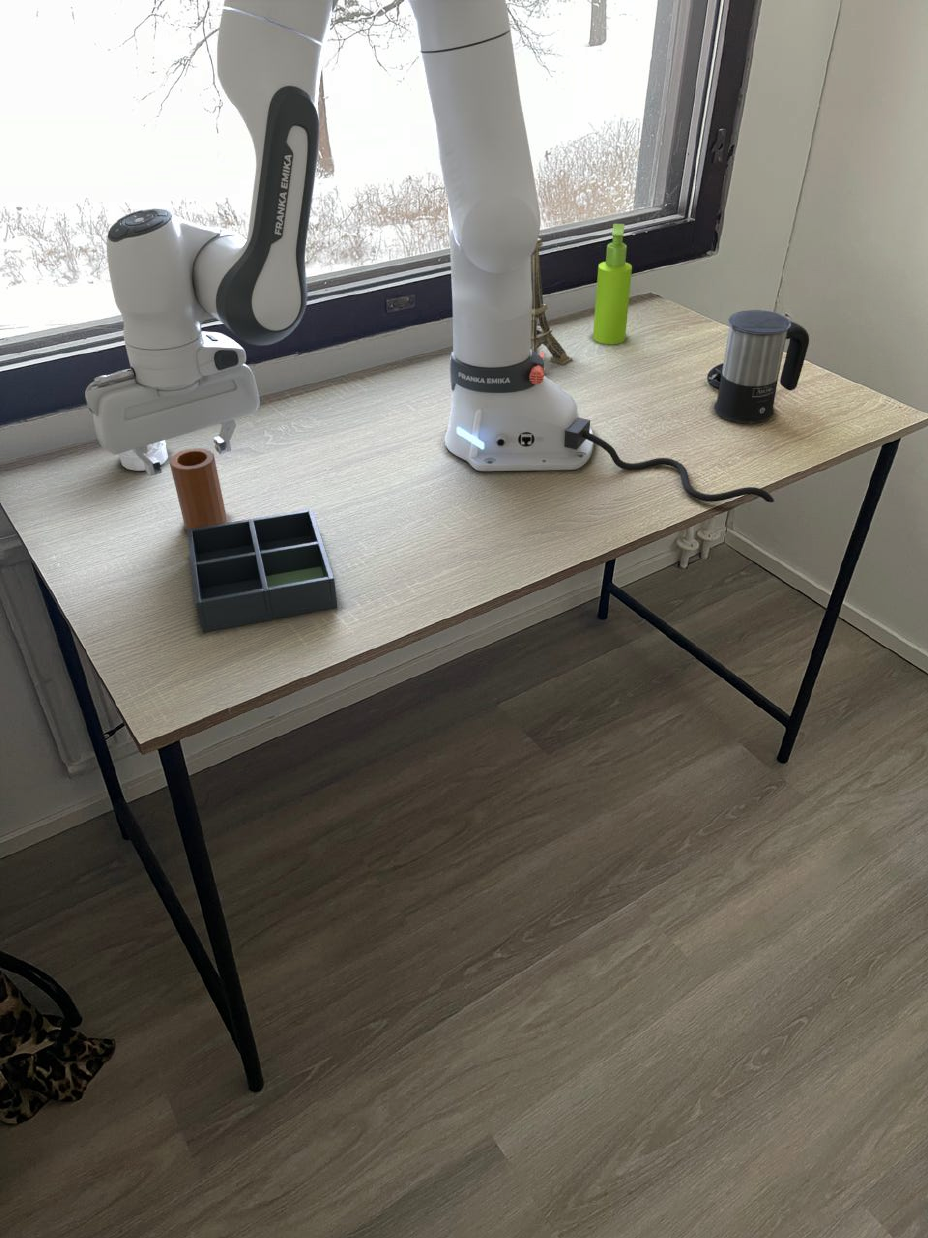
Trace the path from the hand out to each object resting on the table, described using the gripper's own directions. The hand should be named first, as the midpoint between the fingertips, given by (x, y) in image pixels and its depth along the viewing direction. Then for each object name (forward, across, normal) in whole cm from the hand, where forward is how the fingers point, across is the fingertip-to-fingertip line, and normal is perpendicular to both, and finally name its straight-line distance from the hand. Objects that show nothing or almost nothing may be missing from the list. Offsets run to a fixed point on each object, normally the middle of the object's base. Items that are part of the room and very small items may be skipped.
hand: (189, 461), depth 120 cm
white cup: (+10, 0, +22) cm, 24 cm away
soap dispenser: (+9, +86, +12) cm, 87 cm away
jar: (+9, 0, 0) cm, 9 cm away
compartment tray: (+9, 0, -17) cm, 19 cm away
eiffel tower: (+9, +68, +13) cm, 70 cm away
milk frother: (+8, +85, -19) cm, 87 cm away
